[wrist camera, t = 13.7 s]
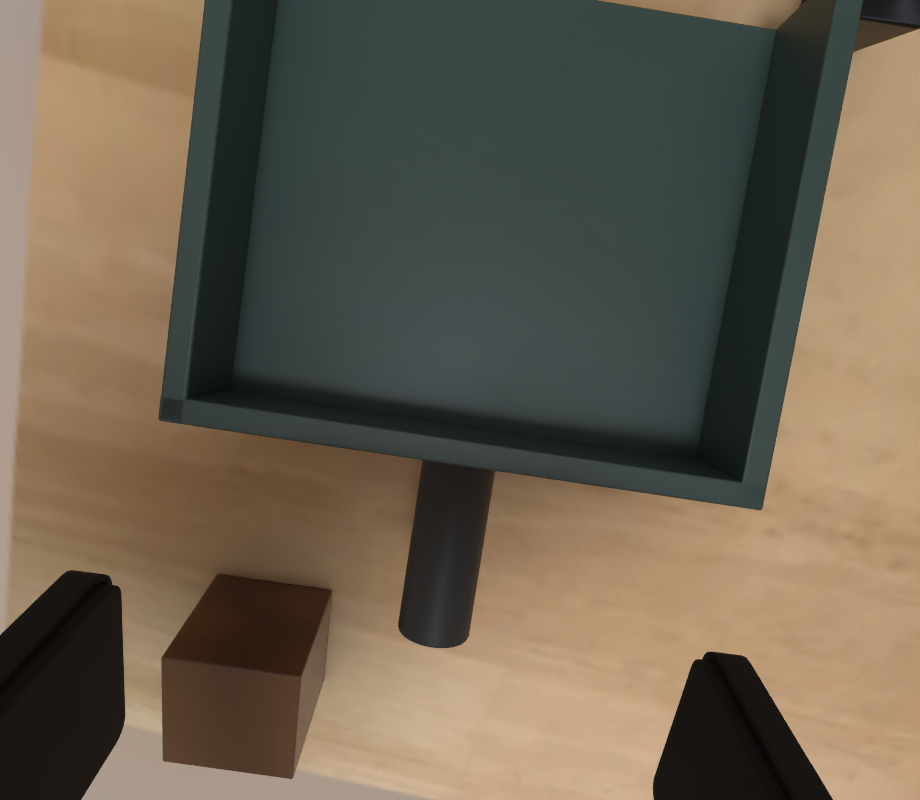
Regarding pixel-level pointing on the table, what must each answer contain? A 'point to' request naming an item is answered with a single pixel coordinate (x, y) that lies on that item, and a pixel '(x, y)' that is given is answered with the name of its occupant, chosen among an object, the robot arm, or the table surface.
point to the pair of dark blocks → (885, 20)
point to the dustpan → (503, 247)
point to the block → (245, 676)
